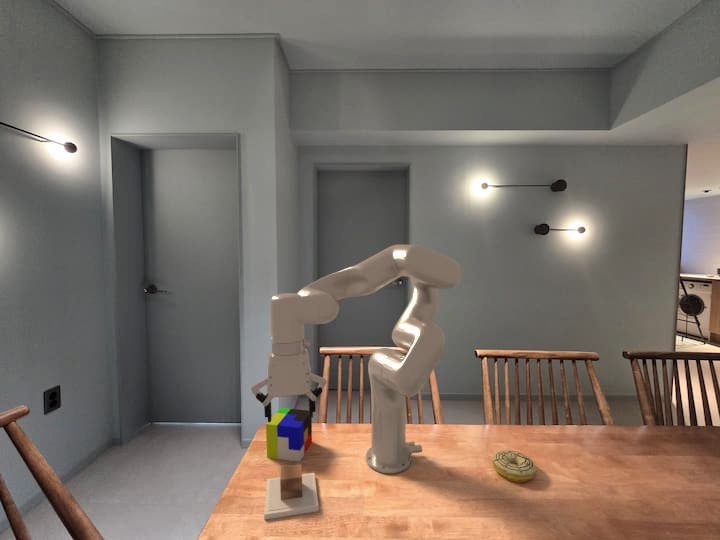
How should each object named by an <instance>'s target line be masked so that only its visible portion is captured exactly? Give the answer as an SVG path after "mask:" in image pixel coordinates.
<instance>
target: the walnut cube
mask: <svg viewBox="0 0 720 540" xmlns="http://www.w3.org/2000/svg"><path fill="white" fill-rule="evenodd" d="M279 473H280V475H279V477H280V492H281V500H286V499H293V498H300V497H302V474H303V469H302V463H300V464H291V465H284V466H280V472H279Z"/></svg>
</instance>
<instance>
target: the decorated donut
mask: <svg viewBox="0 0 720 540" xmlns="http://www.w3.org/2000/svg"><path fill="white" fill-rule="evenodd" d="M492 465H493V468H494V470H495V471H496V473H497V474H498V475H499V476H501V477H502V478H503V479H505V480H506V481H509V482H510V481H511V482H513V483H518V484H521V483H526V482H529V481H532V480H533V478H534V477H535V475H536V472H537V469H538V468H537V465H536V464H535V462H534V461H533V460H532V459H531V458H529V457H528V456H527V455H525V454H524V453H521V452H519V451H516V450H501V451H499V452H496V453H495V454H494V455H493V456H492Z"/></svg>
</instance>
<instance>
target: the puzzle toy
mask: <svg viewBox="0 0 720 540" xmlns="http://www.w3.org/2000/svg"><path fill="white" fill-rule="evenodd" d="M312 418H313V417H310V415H309V409H308V410H307V409H299V408H297V409H296V408H287V407H280V408H279V409H278V411H276V412H275V413H274V415H272V416H271V422H268V421H267V423H265V432H266V458H268V459H278V460H285V461H293V462H302V459H303V458H304V456H305V454H306V453H307V451H308V449H309V448H310V446H311V444H312V442H313V431H312V430H313V429H312V423H313V422H312V420H313V419H312Z"/></svg>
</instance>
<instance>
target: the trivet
mask: <svg viewBox="0 0 720 540" xmlns="http://www.w3.org/2000/svg"><path fill="white" fill-rule="evenodd" d="M315 475H316V474H315V472H310V473H309V472H308V473H302V497H300V498H293V499H286V500H281V492H280V476H279V477H273V478H267V479H266V486H265V499H264V500H265V501H264V510H263V511H264V513H263V514H264V515H263V517H264V519H263V520H271V519H276V518H283V517H289V516H290V517H291V516H295V515H303V514H309V513H310V514H311V513H315V512H320V511H319V510H320V509H319V500H318V499H319V498H318V492H317V484H316V483H317V482H316V476H315Z"/></svg>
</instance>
